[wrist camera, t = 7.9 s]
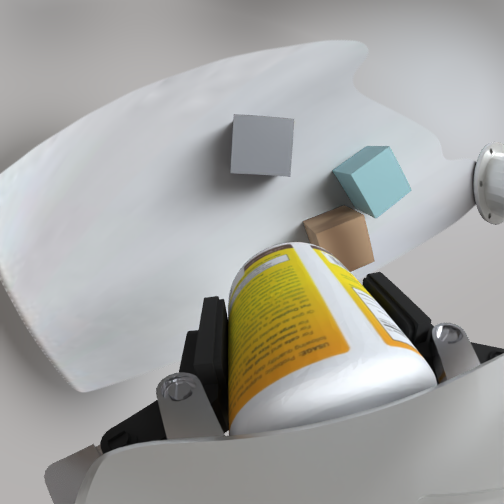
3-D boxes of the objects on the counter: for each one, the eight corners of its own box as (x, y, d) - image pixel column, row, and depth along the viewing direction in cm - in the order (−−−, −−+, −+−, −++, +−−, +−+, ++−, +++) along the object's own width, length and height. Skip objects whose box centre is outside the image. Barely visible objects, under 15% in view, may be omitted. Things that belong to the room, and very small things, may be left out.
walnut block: (344, 204, 30) (363, 215, 25) (355, 245, 31) (374, 261, 27) (302, 221, 30) (315, 234, 25) (316, 261, 32) (330, 280, 27)
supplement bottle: (222, 338, 14) (219, 549, 4) (237, 228, 12) (257, 488, 2) (327, 345, 14) (401, 519, 5) (359, 247, 12) (524, 408, 3)
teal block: (366, 146, 28) (389, 146, 23) (387, 183, 29) (411, 190, 24) (331, 170, 28) (350, 174, 24) (355, 208, 30) (375, 218, 25)
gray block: (283, 124, 26) (294, 119, 22) (280, 172, 28) (290, 176, 23) (233, 121, 26) (233, 114, 21) (230, 170, 28) (230, 173, 23)
